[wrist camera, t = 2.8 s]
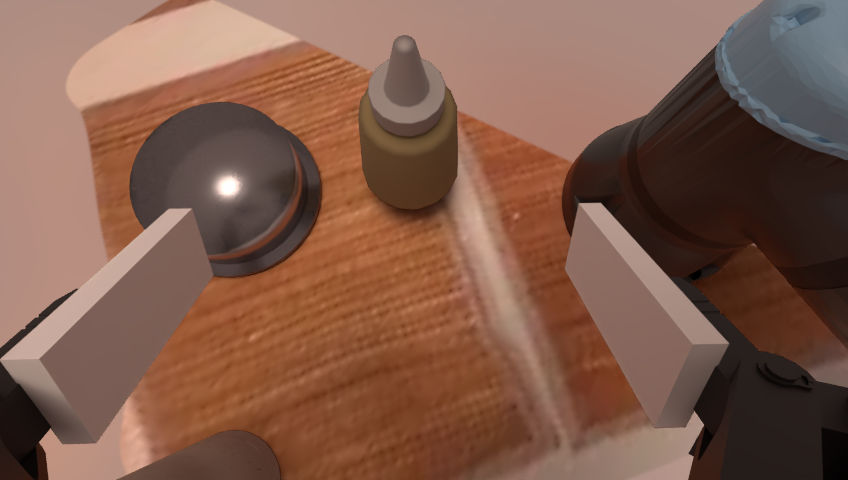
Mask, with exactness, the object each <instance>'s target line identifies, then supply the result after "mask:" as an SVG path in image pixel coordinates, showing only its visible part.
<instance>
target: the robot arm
mask: <svg viewBox="0 0 848 480" xmlns="http://www.w3.org/2000/svg"><path fill="white" fill-rule="evenodd" d="M562 204H563V213H564V218H565V222H566V225H567V228H568V231H569V233H570V235H571V242H570V247H569V251H568V256H567V261H566V265H565V271H566V272H567V274H568V276H569V278H570V279H571V281H572V283H573V285H574V287H575V288H576V290H577V292H578V294H579V295H580V297H581V299H582V301H583V303H584V304H585V306H586V308H587V310H588V311H589V313H590V315H591V317H592V319H593V320H594V322H595V324H596V326H597V327H598V329H599V331H600V333H601V334H602V336H603V338H604V340H605V342H606V343H607V345H608V347H609V349H610V350H611V352H612V354H613V356H614V358H615V359H616V361H617V363H618V365H619V366H620V368H621V370H622V372H623V374H624V375H625V377H626V379H627V381H628V382H629V384H630V386H631V388H632V390H633V391H634V393H635V395H636V397H637V398H638V400H639V402H640V404H641V406H642V407H643V409H644V411H645V413H646V414H647V416H648V418H649V420H650V422H651V423H652V425H653V427H654V428H674V427H686V425H687V423H688V422H689V420H690V418H691V416H692V414H693V412H694V411H695V412H696V413H697V415H698V416H699V418H700V419H701V421H702V422H703V424H704V427H703V428H702V430H701V432H700V434H699V436H698V437H697V439H696V441H695V443H694V445H693V446H692V448H691V450H690V452H689V454H690V455H692V456H694V458H693V462H692V466H691V470H690V475H689V479H688V480H848V388H846V387H841V386H837V385H832V384H827V383H822V382H818V381H815V379H814V378H813V377H812V376H811V375H810V374H809V373H808V372H807V371H806V370H804V369H803V368H802V367H800V366H799V365H797V364H796V363H794V362H792V361H790V360H788V359H786V358H784V357H782V356H779V355H776V354H772V353H768V352H761V351H758V350H757V349H756V348H755V347H754V345H753V344H752V343H751V342H750V341H749V340H748V339H747V338H746V337H745V336H744V335H743V334H742V333H741V332H740V331H739V330H738V329H737V328H736V327H735V326H734V325H733V324H732V323H731V322H730V321H729V320H728V319H727V318H726V317H725V316H724V315H723V314H720V311H719V310H718V309H717V308H716V307H715V306H714V305H713V304H712V303H710V302H709V301H710V300H709V299H708V298H707V297H706V296H705V295H704V294H703V293H702V292H701V291H700V290H699V289H698V288H697V287H695V286H693V285H692V284H693V283H696V282H698V281H701V280H703V279H705V278H707V277H709V276H711V275H713V274H714V273H716V272H717V271H718V270H720V269H721V268H722V267H723V266H724V265H726V264H727V263H728V262H729V261H730V260H731V259H733V258H734V257H735V256H736V255H737V254H738V253H739V252H741V251H742V250H743V249H744V248H745V247H746V246H747V245H749V244H753V243H754V244H755V245H756V246H757V247H758V248H759V249H760V250H761V251H762V253H763V254H764V255H765V256H766V257H767V258H768V259H769V260H770V261H771V263H772V264H773V265H774V266H775V267H776V268H777V269H778V270H779V272H780V273H781V274H782V275H783V276H784V277H785V278H786V279H787V281H788V283H789V284H790V285H791V286H792V287H793V288H794V289H795V290H796V292H797V293H798V294H799V295H800V296H801V297H802V298H803V300H804V301H805V302H806V303H807V304H808V305H809V306H810V307H811V309H812V310H813V311H814V312H815V313H816V314H817V315H818V317H819V318H820V319H821V320H822V321H823V322H824V323H825V324H826V326H827V327H828V328H829V329H830V330H831V331H832V332H833V334H834V335H835V336H836V337H837V338H838V339H839V340H840V341H841V343H842V344H843V345H844V346H845V347H846V348H847V349H848V0H764V1H763V2H761V3H760V4H759V5H758V6H757V7H756V8H755V9H753V10H751V11H749V12H748V13H746V14H745V15H743V16H742V17H740V18H739V19H738V20H737V21H735V22H734V23H733V24H732V25H731V26H730V27H729V28H728V30H727V31H726V34H725V35H724V36H723V37H722V38H721V40H720V41H719V43H718V44H717V45H716V46H715V47H714V48H713V49H712V50H711V51H710V52H709V53H708V54H707V55H706V56H705V57H704V58H703V59H702V60H701V61H700V62H699V63H698V64H697V65H696V66H695V67H694V68H693V69H692V70H691V71H690V72H689V73H688V74H687V75H686V76H685V77H684V78H683V79H682V80H681V81H680V82H679V83H678V84H677V85H676V87H674V88H673V89H672V90H671V91H670V92H669V93H668V94H667V95H666V96H665V97H664V98H663V99H662V100H661V101H660V102H659V103H658V104H657V105H656V106H655V107H654V108H653V109H652V110H651V111H650V113H648V114H647V115H645V116H643V117H640V118H637V119H635V120H633V121H630V122H628V123H625V124H623V125H619V126H616V127H614V128H612V129H610V130H608V131H606V132H605V133H603V134H601V135H600V136H598V137H597V138H596V139H595V140H593V141H592V142H591V143H590V144H589V145H588V146H587V147H586V148H585V150H584V151H583V152H582V153H581V154H580V155H579V157H578V158H577V159H576V160H575V162H574V163H573V165H572V166H571V168H570V170H569V172H568V174H567V177H566V180H565V184H564V188H563V197H562ZM212 277H213V272H212V269H211V266H210V263H209V259H208V256H207V253H206V250H205V247H204V244H203V241H202V238H201V235H200V232H199V229H198V225H197V222H196V219H195V216H194V213H193V210H192V208H188V209H168V210H167V211H166V212H165V213H164V214H162V215H161V216H160V217H159V218H158V219H157V220H156V221H155V222H153V223H152V224H151V225H150V226H149V227H148V228H147V229H146V230H144V231H143V232H142V233H141V234H140V235H139V236H138V237H137V238H135V239H134V240H133V241H132V242H131V243H130V244H129V245H128V246H126V247H125V248H124V249H123V250H122V251H121V252H120V253H119V254H118V255H116V256H115V257H114V258H113V259H112V260H111V261H110V262H109V263H107V264H106V265H105V266H104V267H103V268H102V269H101V270H100V271H99V272H97V273H96V274H95V275H94V276H93V277H92V278H91V279H90V280H88V282H86V283H85V284H84V285H83V286H82V287H81V288H79V289H75V290H73V291H72V292H70V293H68V294H66V295H65V296H63V297H61V298H59V299H58V300H56V301H54V302H53V303H52V304H51V305H50V306H49V307H47V308H46V309H45V310H44V311H43V312H42V313H41V314H39V317H38V318H35V319H33V320H32V321H31V322H30V323H29V324H28V325H26V328H25V329H22V330H21V331H20V332H18V333H17V334H16V335H15V336H14V337H13V338H11V339H10V340H9V341H8V342H7V343H6V344H5V345H3V346H2V347H1V348H0V480H48V472H47V463H46V453H45V451H44V449H43V448H42V446H41V445H40V443H39V441H40V440H41V439H42V438H43V437H44V435H45V434H46V433H47V432H48V431H49V429H50V428H51V429H52V431H53V432H54V433H55V435H56V436H57V437H58V439H59V440H60V441H61V443H62V444H89V443H97V441H98V440H99V439H100V437H101V436H102V434H103V433H104V431H105V430H106V429H107V427H108V426H109V424H110V423H111V422H112V420H113V419H114V417H115V416H116V414H117V413H118V412H119V410H120V409H121V407H122V406H123V404H124V403H125V401H126V400H127V399H128V397H129V396H130V394H131V393H132V391H133V390H134V389H135V387H136V386H137V384H138V383H139V381H140V380H141V379H142V377H143V376H144V374H145V373H146V371H147V370H148V369H149V367H150V366H151V364H152V363H153V361H154V360H155V358H156V357H157V356H158V354H159V353H160V351H161V350H162V348H163V347H164V346H165V344H166V343H167V341H168V340H169V338H170V337H171V336H172V334H173V333H174V331H175V330H176V328H177V327H178V326H179V324H180V323H181V321H182V320H183V318H184V317H185V316H186V314H187V313H188V311H189V310H190V308H191V307H192V305H193V304H194V303H195V301H196V300H197V298H198V297H199V295H200V294H201V293H202V291H203V290H204V288H205V287H206V285H207V284H208V283H209V281H210V280H211V278H212Z"/></svg>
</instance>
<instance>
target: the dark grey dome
mask: <svg viewBox="0 0 848 480" xmlns="http://www.w3.org/2000/svg"><path fill="white" fill-rule="evenodd" d="M321 196H322V190H321V180H320V175H319V172H318V168H317V166H316V164H315V161H314V159H313V157H312V156H311V154H310V152H309V151H308V150H307V148H306V147H305V145H304V144H303V143H302V142H301V141H300V140H299V139H298V138H297V137H296V136H295V135H293V134H292V133H291V132H290V131H288V130H286V129H285V128H283V127H281V126H279V125H277V124H276V123H275V122H274V121H273V120H272V119H270V118H269V117H268V116H266V115H265V114H263V113H262V112H260V111H258V110H256V109H254V108H251V107H248V106H245V105H242V104H237V103H230V102H214V103H206V104H201V105H197V106H194V107H191V108H188V109H186V110H183V111H181V112H179V113H177V114H176V115H174V116H172V117H170V118H169V119H168V120H166V121H165V122H163V123H162V124H161V125H160V126H159V127H158V128H156V129H155V130H154V131H153V132H152V134H151V135H150V136H149V137H148V138H147V139H146V141H145V142H144V144H143V145H142V147H141V148H140V150H139V152H138V154H137V156H136V158H135V161H134V164H133V167H132V171H131V175H130V198H131V203H132V207H133V210H134V212H135V215H136V217H137V219H138V220H139V222H140V224H141V225H142V226H143V228H144V229H145V230H146V229H147V228H148V227H149V226H150V225H151V224H152V223H153V222H155V221H156V220H157V219H158V218H159V217H160V216H161V215H162V214H164V213H165V212H166V211H167V210H168V209H188V208H192V210H193V213H194V216H195V219H196V222H197V225H198V229H199V232H200V235H201V238H202V241H203V244H204V247H205V250H206V253H207V256H208V259H209V263H210V266H211V269H212V272H213V276H218V277H243V276H248V275H253V274H257V273H259V272H262V271H265V270H267V269H269V268H271V267H274V266H276V265H277V264H279V263H280V262H282V261H283V260H285V259H286V258H288V257H289V256H290V255H291V254H292V253H294V252H295V251H296V250H297V249H298V247H299V246H300V245H301V244H302V243H303V242H304V240H305V239H306V238H307V236H308V235H309V233H310V231H311V230H312V228H313V226H314V224H315V221H316V219H317V216H318V213H319V209H320V205H321Z"/></svg>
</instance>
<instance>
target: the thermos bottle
mask: <svg viewBox="0 0 848 480" xmlns="http://www.w3.org/2000/svg"><path fill="white" fill-rule="evenodd" d="M117 480H281V479H280V470H279V466H278V463H277V460H276V457H275V455H274V454H273V452H272V450H271V449H270V448H269V446H268V445H267V444H266V443H265V442H264V441H263V440H261V439H260V438H259V437H257V436H255V435H253V434H251V433H249V432H244V431H239V430H237V431H225V432H221V433H218V434H215V435H213V436H211V437H208V438H206V439H204V440H202V441H200V442H198V443H195V444H193V445H191V446H189V447H187V448H185V449H182V450H180V451H178V452H176V453H174V454H172V455H169V456H167V457H165V458H163V459H161V460H158V461H156V462H154V463H152V464H150V465H148V466H145V467H143V468H141V469H139V470H137V471H135V472H132V473H130V474H128V475H126V476H124V477H122V478H120V479H117Z"/></svg>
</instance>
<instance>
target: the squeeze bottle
mask: <svg viewBox="0 0 848 480" xmlns="http://www.w3.org/2000/svg"><path fill="white" fill-rule="evenodd" d="M358 119H359V131H360V143H361V155H362V167H363V172H364V175H365V178H366V181H367V184H368V187H369V188H370V189H371V190H372V191H373V192H374V193H375V194H376V196H377V197H378V198H379V199H380V200H382V201H384V202H386V203H388V204H390V205H392V206H394V207H397V208H401V209H419V208H422V207H425V206H428V205H431V204H434V203H436V202H437V201H438V200H440V199H441V198H442V197H443V196H444V195H445V194H447V193H448V192H449V191H450V189H451V187H452V185H453V183H454V181H455V179H456V177H457V166H458V136H457V105H456V103H455V101H454V98H453V96H452V93H451V91H450V90H449V89H448V88H447V87H446V85H445V82H444V80H443V77H442V75H441V72H440V71H439V70H438V69H437V68H436V67H435V66H434V65H433V64H432V63H431V62H429V61H426V60H424V59H421V57H420V54H419V51H418V49H417V45H416V42H415V40H414V39H413V38H412V37H409V36H406V35H403V36H399V37H398V38H396V39H395V41H394V43H393V47H392V52H391V56H390V59H389V60H387V61H385V62H384V63H383V64H381V65H380V66H379V67H377V68H376V69H375V71H374V73H373V75H372V76H371V78H370V80H369V86H368V89H367V90H366V92H365V94H364V96H363V97H362V99H361V101H360V108H359V118H358Z"/></svg>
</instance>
